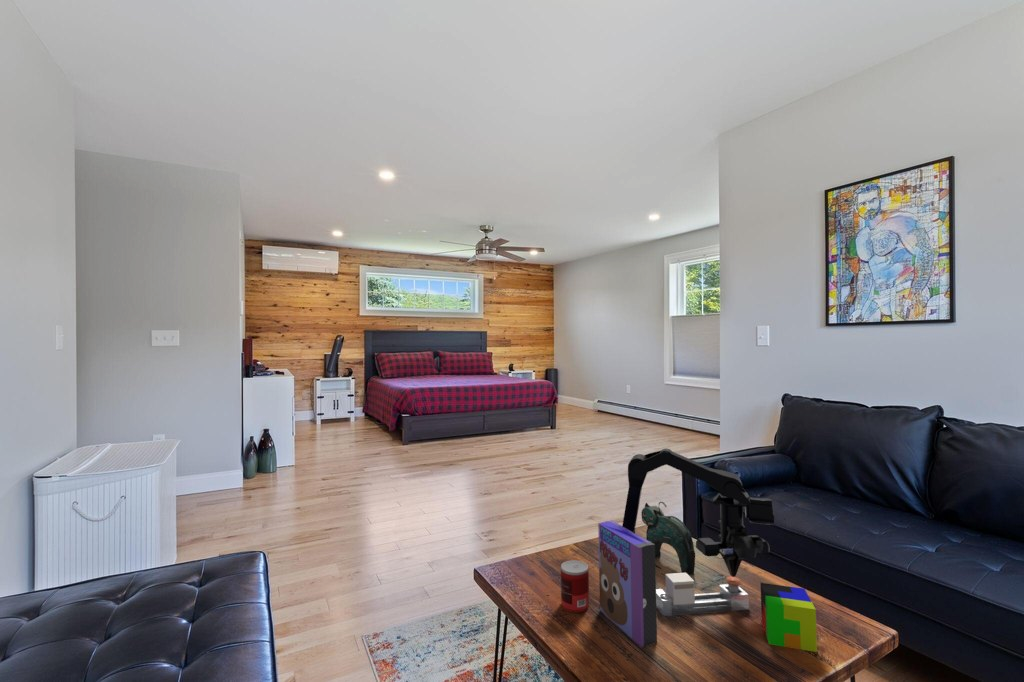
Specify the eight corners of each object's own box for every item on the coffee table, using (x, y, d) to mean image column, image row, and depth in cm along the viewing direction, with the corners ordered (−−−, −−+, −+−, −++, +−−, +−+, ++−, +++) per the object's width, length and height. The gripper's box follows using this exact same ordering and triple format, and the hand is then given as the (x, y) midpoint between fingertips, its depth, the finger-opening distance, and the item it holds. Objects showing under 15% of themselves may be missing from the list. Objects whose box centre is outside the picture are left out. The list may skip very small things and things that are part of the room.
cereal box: (599, 610, 127) (598, 522, 128) (614, 606, 129) (612, 520, 130) (641, 647, 111) (639, 547, 112) (657, 642, 113) (654, 543, 114)
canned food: (592, 601, 132) (591, 562, 132) (584, 616, 125) (583, 575, 125) (566, 595, 135) (565, 557, 136) (557, 609, 128) (556, 569, 128)
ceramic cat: (640, 554, 162) (639, 496, 162) (654, 550, 165) (652, 493, 165) (686, 578, 144) (684, 513, 145) (700, 573, 147) (699, 510, 148)
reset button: (731, 600, 128) (730, 583, 128) (724, 593, 131) (723, 576, 131) (743, 599, 128) (743, 582, 128) (736, 593, 132) (735, 576, 132)
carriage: (674, 605, 125) (673, 583, 125) (665, 595, 130) (665, 573, 130) (695, 604, 126) (694, 581, 126) (686, 594, 131) (685, 572, 131)
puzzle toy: (805, 628, 118) (804, 588, 118) (817, 652, 109) (815, 609, 109) (761, 621, 121) (760, 582, 122) (769, 644, 112) (767, 602, 112)
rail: (663, 615, 124) (662, 599, 124) (654, 603, 130) (653, 588, 130) (748, 609, 127) (748, 593, 127) (736, 597, 133) (735, 582, 133)
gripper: (715, 533, 121) (716, 593, 121) (782, 529, 123) (783, 588, 123) (694, 517, 132) (695, 573, 132) (756, 514, 134) (757, 569, 134)
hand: (732, 576), depth 130 cm, fingers closed
